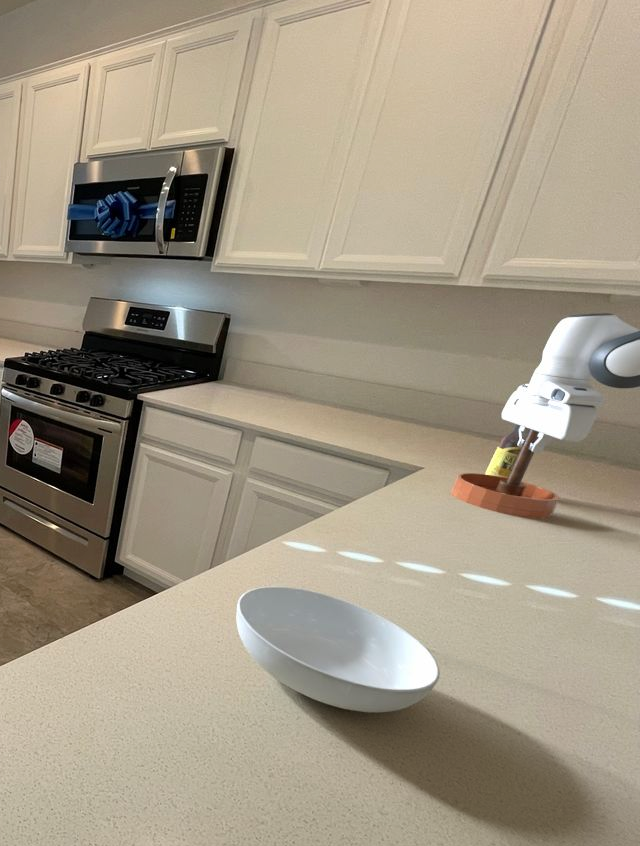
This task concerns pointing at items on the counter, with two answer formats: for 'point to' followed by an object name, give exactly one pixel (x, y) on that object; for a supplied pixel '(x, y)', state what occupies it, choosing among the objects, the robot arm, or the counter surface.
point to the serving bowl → (334, 650)
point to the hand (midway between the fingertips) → (528, 449)
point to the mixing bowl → (504, 496)
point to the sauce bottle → (505, 455)
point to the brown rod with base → (519, 468)
